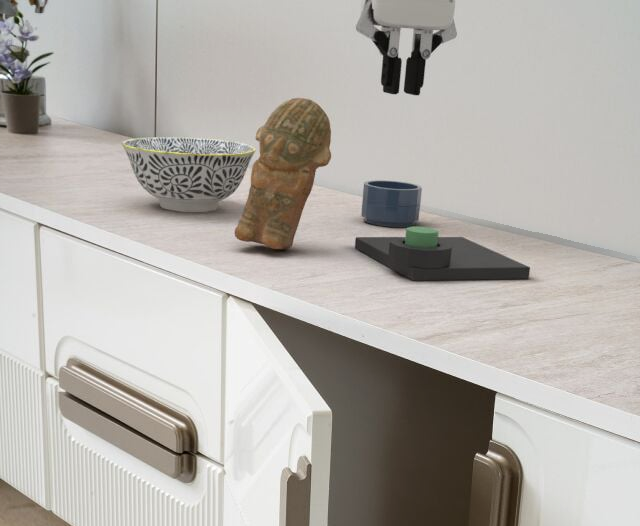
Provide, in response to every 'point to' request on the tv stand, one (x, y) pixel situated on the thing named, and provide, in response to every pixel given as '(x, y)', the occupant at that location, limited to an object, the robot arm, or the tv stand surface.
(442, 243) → the black flat block
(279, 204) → the figurine
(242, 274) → the tv stand surface
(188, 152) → the bowl
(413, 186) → the small bowl
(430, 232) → the button
